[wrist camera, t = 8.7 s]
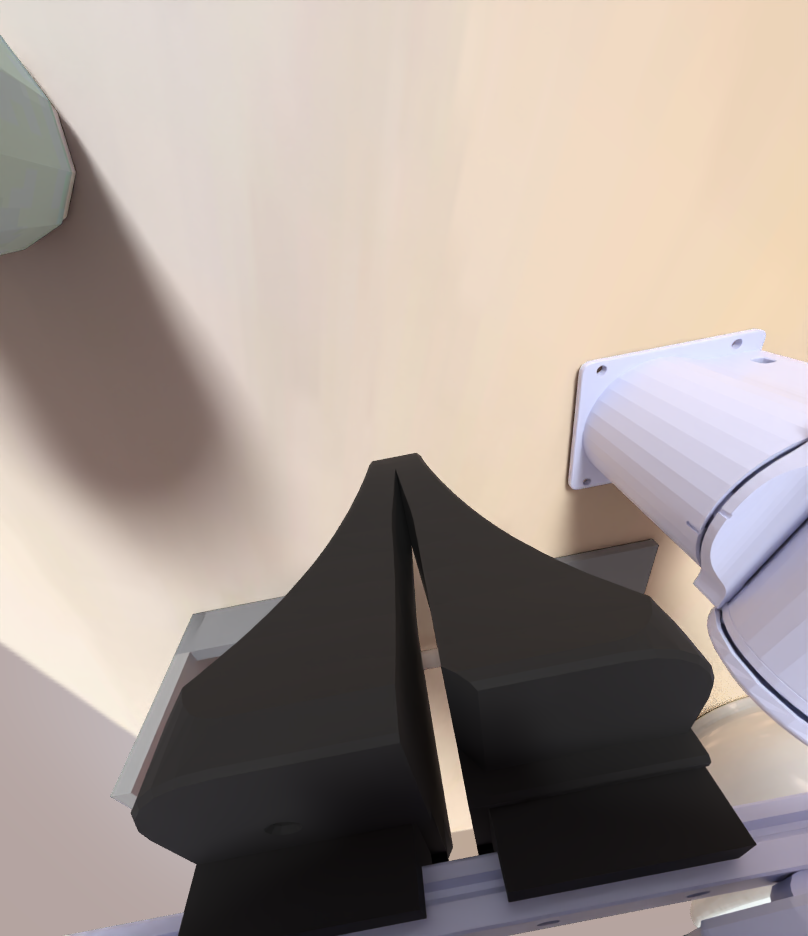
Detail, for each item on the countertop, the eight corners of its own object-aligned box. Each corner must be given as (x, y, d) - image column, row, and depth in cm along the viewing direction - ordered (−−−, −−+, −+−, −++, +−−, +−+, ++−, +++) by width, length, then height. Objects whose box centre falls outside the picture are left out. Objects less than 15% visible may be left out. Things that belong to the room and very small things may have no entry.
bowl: (682, 657, 36) (849, 873, 24) (946, 638, 40) (1210, 816, 28) (580, 784, 53) (647, 949, 41) (773, 762, 57) (888, 907, 44)
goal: (317, 589, 26) (274, 930, 13) (356, 677, 32) (354, 962, 19) (192, 614, 26) (27, 978, 13) (257, 697, 32) (189, 994, 19)
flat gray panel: (652, 539, 26) (658, 544, 26) (631, 614, 31) (636, 620, 31) (491, 570, 26) (493, 577, 26) (494, 641, 31) (497, 647, 31)
